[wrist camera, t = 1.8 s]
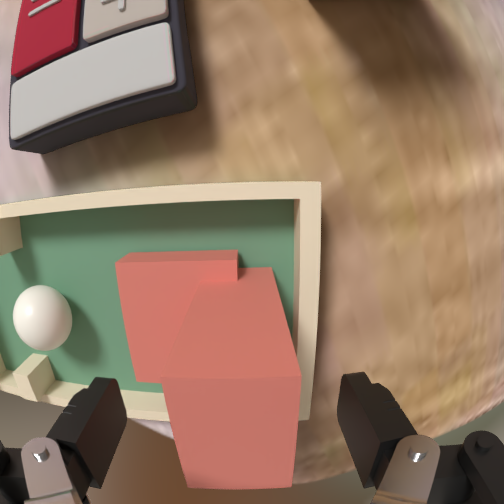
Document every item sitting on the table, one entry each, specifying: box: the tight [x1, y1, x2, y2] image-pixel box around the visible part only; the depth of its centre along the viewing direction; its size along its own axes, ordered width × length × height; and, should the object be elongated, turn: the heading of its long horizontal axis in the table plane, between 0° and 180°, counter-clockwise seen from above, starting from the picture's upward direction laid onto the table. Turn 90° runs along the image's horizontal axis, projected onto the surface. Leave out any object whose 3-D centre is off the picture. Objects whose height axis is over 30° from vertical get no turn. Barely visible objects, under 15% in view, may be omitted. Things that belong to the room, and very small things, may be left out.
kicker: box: [115, 250, 302, 489], centre depth 13 cm, size 8×7×10 cm
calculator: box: [9, 0, 197, 154], centre depth 13 cm, size 11×4×15 cm
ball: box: [13, 285, 72, 351], centre depth 16 cm, size 4×4×4 cm
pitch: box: [0, 181, 321, 421], centre depth 16 cm, size 25×14×5 cm, turn 91°
